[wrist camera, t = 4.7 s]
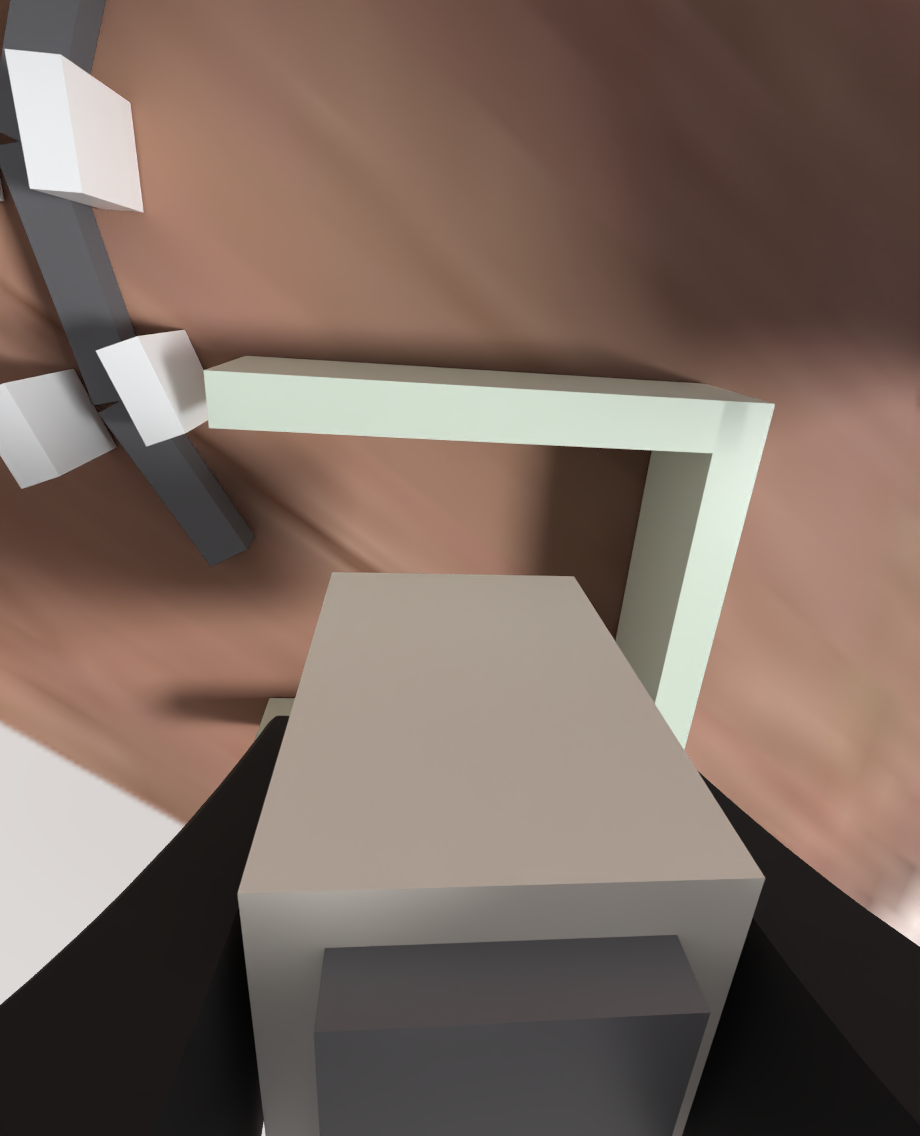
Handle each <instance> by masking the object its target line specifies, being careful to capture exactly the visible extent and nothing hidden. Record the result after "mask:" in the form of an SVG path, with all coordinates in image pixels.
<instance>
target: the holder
mask: <svg viewBox="0 0 920 1136" xmlns="http://www.w3.org/2000/svg"><path fill="white" fill-rule="evenodd" d="M203 371H204V381H205V392H206V402H207V413H208V423H209V428H218V429H238V430H258V431H278V432H298V433H317V434H337V435H357V436H377V437H397V438H417V439H436V440H456V441H476V442H496V443H516V444H536V445H555V446H575V447H595V448H615V449H635V450H652V452H651V457H650V462H649V467H648V473H647V478H646V483H645V488H644V494H643V499H642V504H641V509H640V515H639V520H638V525H637V530H636V536H635V541H634V546H633V551H632V557H631V562H630V567H629V572H628V578H627V583H626V588H625V593H624V599H623V604H622V609H621V614H620V620H619V625H618V630H617V635H616V641H615V642H616V643H617V645H618V647H619V648H620V650H621V651H622V653H623V654H624V656H625V658H626V659H627V661H628V662H629V664H630V665H631V667H632V669H633V670H634V672H635V673H636V675H637V676H638V678H639V680H640V681H641V683H642V684H643V686H644V688H645V689H646V691H647V692H648V694H649V695H650V697H651V699H652V700H653V702H654V703H655V705H656V706H657V708H658V710H659V711H660V713H661V714H662V716H663V717H664V719H665V721H666V722H667V724H668V725H669V727H670V729H671V730H672V732H673V733H674V735H675V736H676V738H677V740H678V741H679V743H680V744H681V746H682V747H683V749H685V745H686V741H687V738H688V734H689V730H690V726H691V722H692V719H693V715H694V711H695V707H696V703H697V699H698V696H699V692H700V688H701V684H702V680H703V677H704V673H705V669H706V665H707V661H708V658H709V654H710V650H711V646H712V642H713V639H714V635H715V631H716V627H717V623H718V620H719V616H720V612H721V608H722V604H723V601H724V597H725V593H726V589H727V585H728V581H729V578H730V574H731V570H732V566H733V562H734V559H735V555H736V551H737V547H738V543H739V540H740V536H741V532H742V528H743V524H744V521H745V517H746V513H747V509H748V505H749V502H750V498H751V494H752V490H753V486H754V483H755V479H756V475H757V471H758V467H759V463H760V460H761V456H762V452H763V448H764V444H765V441H766V437H767V433H768V429H769V425H770V422H771V418H772V414H773V410H774V406H775V404H774V403H771V402H767V401H764V400H760V399H757V398H753V397H750V396H746V395H743V394H740V393H736V392H733V391H729V390H726V389H722V388H719V387H715V386H712V385H709V384H702V383H685V382H669V381H653V380H636V379H620V378H604V377H587V376H571V375H555V374H538V373H522V372H506V371H489V370H473V369H457V368H440V367H424V366H407V365H391V364H375V363H358V362H342V361H326V360H309V359H293V358H277V357H260V356H243V357H240V358H237V359H235V360H232V361H229V362H226V363H223V364H220V365H217V366H214V367H211V368H209V369H206V370H203ZM294 700H295V698H269V701H268V704H267V706H266V709H265V712H264V715H263V718H262V721H261V723H260V726H259V729H258V732H257V735H256V737H255V740H256V739H257V737H258V736H259V735H260V733H261V732H262V731H263V729H264V728H265V727H266V725H267V724H268V723H269V722H270V721H271V720H272V719H273V718H274V717H275V716H290V714H291V710H292V707H293V703H294ZM255 740H254V741H255Z"/></svg>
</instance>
